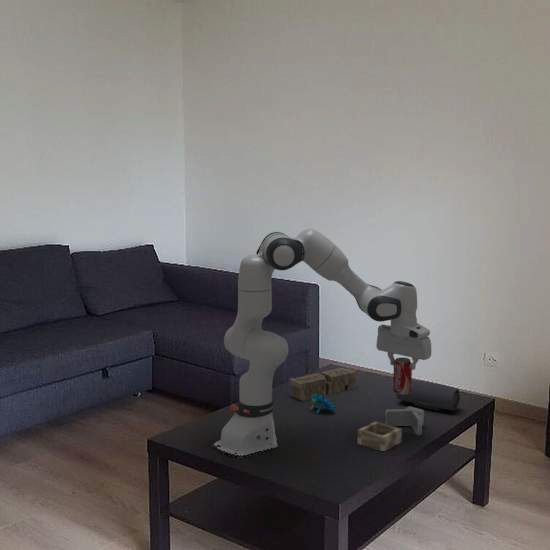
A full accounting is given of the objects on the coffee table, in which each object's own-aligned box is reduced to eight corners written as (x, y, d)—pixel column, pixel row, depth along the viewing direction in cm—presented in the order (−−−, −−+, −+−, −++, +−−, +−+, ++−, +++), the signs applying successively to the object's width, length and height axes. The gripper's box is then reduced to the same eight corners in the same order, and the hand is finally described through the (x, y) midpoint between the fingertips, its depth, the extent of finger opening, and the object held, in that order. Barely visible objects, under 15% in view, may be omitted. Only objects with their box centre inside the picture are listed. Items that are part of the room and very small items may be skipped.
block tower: (343, 386, 309) (288, 397, 292) (344, 366, 308) (289, 376, 291) (356, 391, 303) (300, 402, 286) (356, 371, 302) (301, 381, 285)
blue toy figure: (341, 409, 274) (325, 394, 269) (333, 422, 271) (316, 407, 267) (323, 404, 283) (307, 390, 278) (315, 417, 281) (299, 403, 276)
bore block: (384, 452, 239) (384, 437, 238) (357, 443, 246) (357, 429, 245) (401, 442, 247) (401, 428, 246) (375, 434, 253) (375, 421, 253)
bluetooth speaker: (459, 409, 279) (461, 384, 277) (451, 416, 271) (452, 391, 269) (404, 398, 291) (405, 374, 289) (395, 405, 283) (395, 380, 282)
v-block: (419, 437, 251) (420, 420, 250) (383, 426, 261) (384, 410, 260) (434, 429, 259) (434, 413, 258) (398, 418, 268) (399, 403, 267)
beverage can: (411, 396, 250) (412, 362, 247) (393, 395, 251) (393, 362, 248) (411, 389, 256) (412, 357, 253) (393, 389, 257) (393, 356, 254)
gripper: (373, 325, 253) (372, 363, 256) (424, 335, 240) (423, 375, 242) (383, 321, 258) (382, 359, 260) (434, 331, 244) (433, 370, 247)
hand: (402, 367), depth 251 cm, fingers closed on beverage can, 6 cm apart
